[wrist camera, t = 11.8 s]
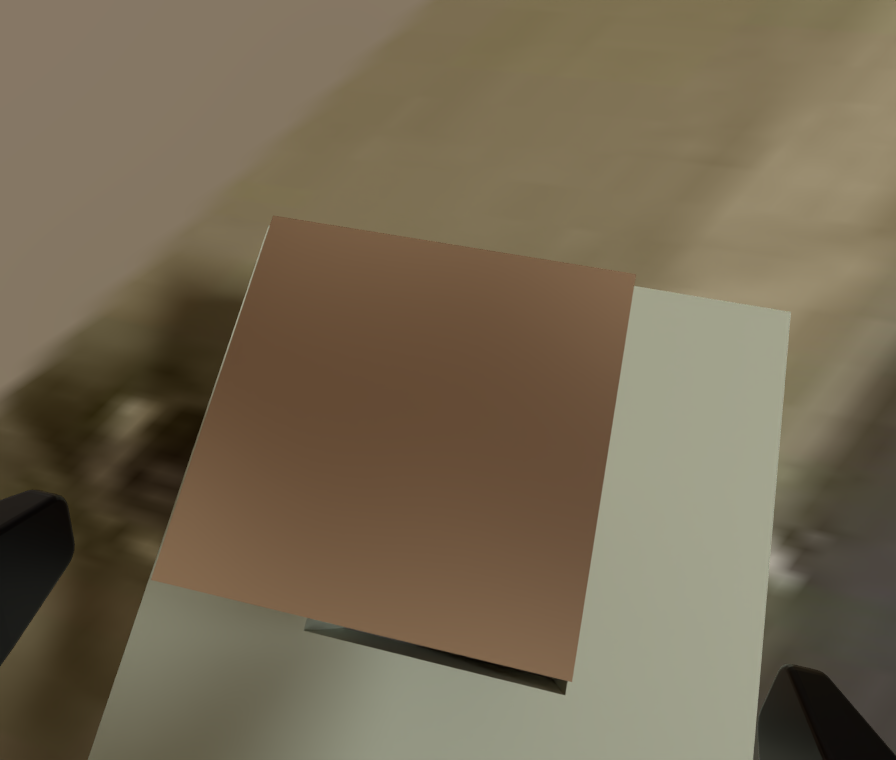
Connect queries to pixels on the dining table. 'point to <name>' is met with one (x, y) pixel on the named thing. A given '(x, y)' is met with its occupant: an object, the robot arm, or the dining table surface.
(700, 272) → the dining table surface
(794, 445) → the dining table surface
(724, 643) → the socket block
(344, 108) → the dining table surface
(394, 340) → the walnut peg
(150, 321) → the dining table surface
